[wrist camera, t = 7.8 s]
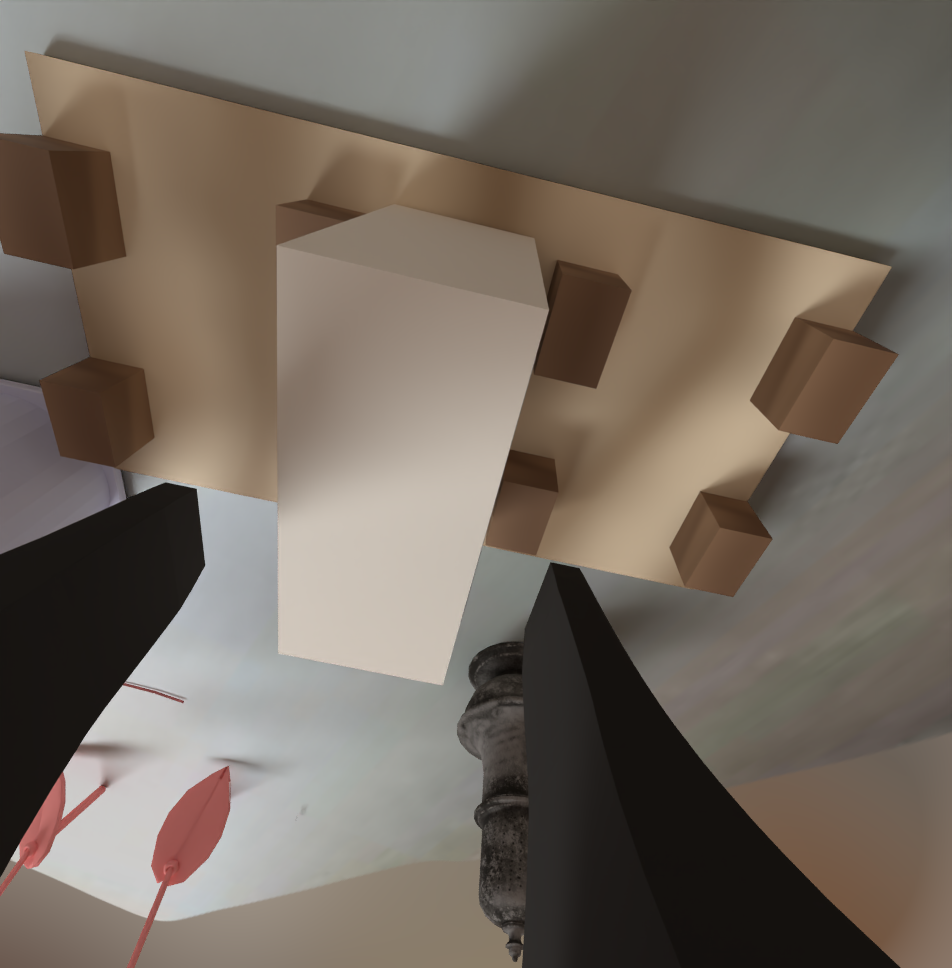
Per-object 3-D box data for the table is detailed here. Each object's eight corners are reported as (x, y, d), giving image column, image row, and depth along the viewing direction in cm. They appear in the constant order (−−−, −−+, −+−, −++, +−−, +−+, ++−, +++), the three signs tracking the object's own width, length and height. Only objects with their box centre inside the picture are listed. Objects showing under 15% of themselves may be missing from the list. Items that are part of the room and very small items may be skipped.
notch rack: (122, 461, 22) (72, 499, 20) (41, 54, 15) (-58, 32, 12) (689, 580, 24) (710, 630, 21) (880, 263, 16) (947, 283, 14)
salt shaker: (512, 622, 26) (508, 915, 16) (592, 674, 28) (635, 969, 18) (442, 674, 29) (400, 954, 18) (519, 719, 30) (520, 998, 20)
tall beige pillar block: (365, 475, 21) (278, 653, 13) (394, 203, 16) (276, 245, 8) (473, 498, 21) (448, 686, 14) (539, 239, 16) (557, 312, 8)
